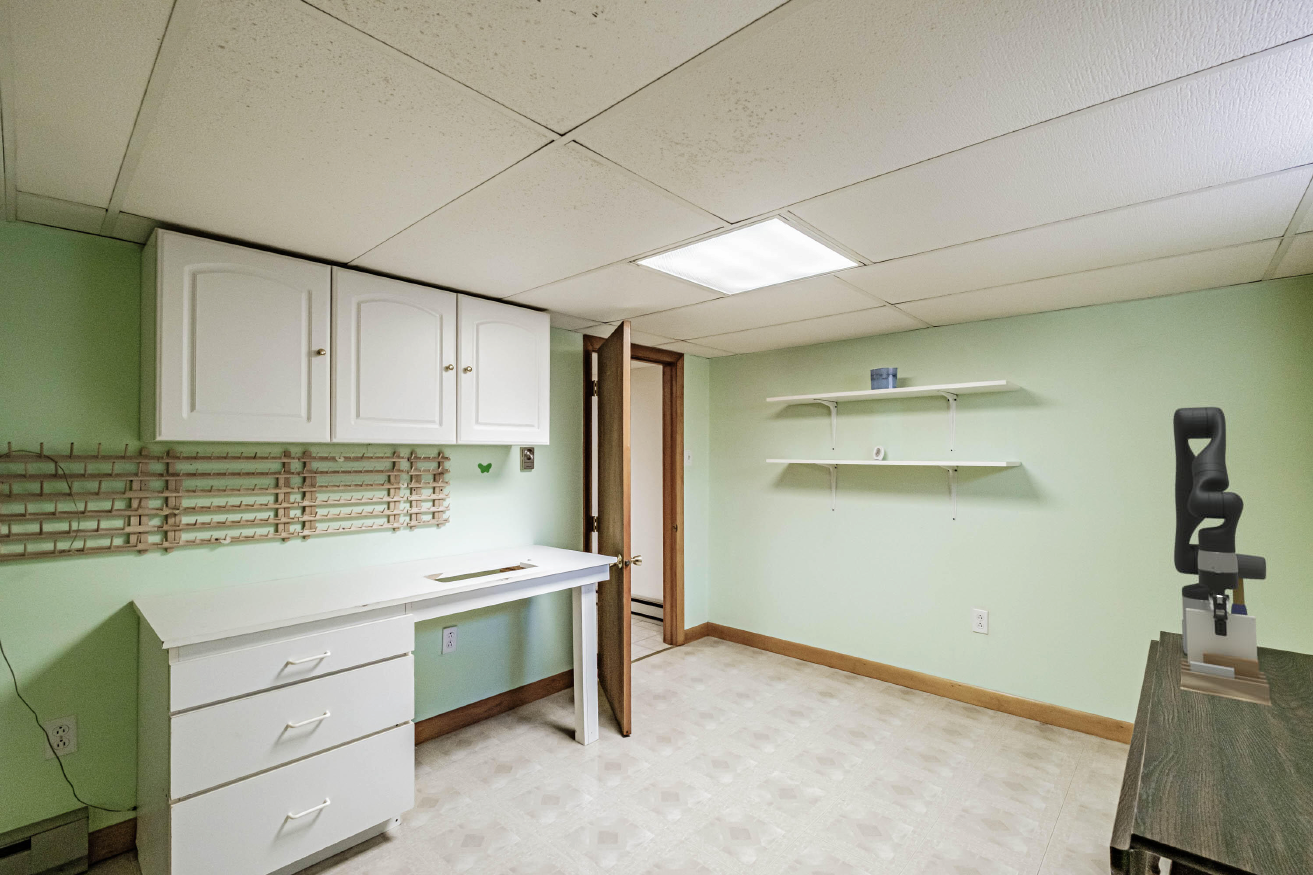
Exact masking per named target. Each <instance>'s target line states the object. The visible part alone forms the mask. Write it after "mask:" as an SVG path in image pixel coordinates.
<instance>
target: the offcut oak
mask: <svg viewBox="0 0 1313 875" xmlns="http://www.w3.org/2000/svg"><path fill="white" fill-rule="evenodd" d="M1203 663H1205V664H1211V665H1217V666H1223V667H1229V668H1234V675H1237V676H1243V677H1249V678H1255V679H1259V672H1260V666H1259V665H1260V664H1259V663H1260V662H1259V660H1258V659H1257V660H1253V659H1247V658H1240V657H1234V656H1227V655H1221V654H1215V653H1208V652H1203Z"/></svg>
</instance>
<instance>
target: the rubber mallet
mask: <svg viewBox="0 0 1313 875" xmlns="http://www.w3.org/2000/svg"><path fill="white" fill-rule="evenodd" d="M1236 557H1237V563H1238V585H1239V587H1238V589H1234V590H1232V604H1231V609H1230V613H1231V614H1239V615H1247V616H1249V615H1248V609H1247V606H1246V603H1245V601H1246V600H1245V589H1244V588H1245V587H1244V586H1245V585H1244V580H1245V579H1246V580H1260V581H1264V580H1266V578H1267V562H1266V558H1265V557H1264V556H1257V555H1251V554H1243V553H1242V554H1241V553H1236Z"/></svg>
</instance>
